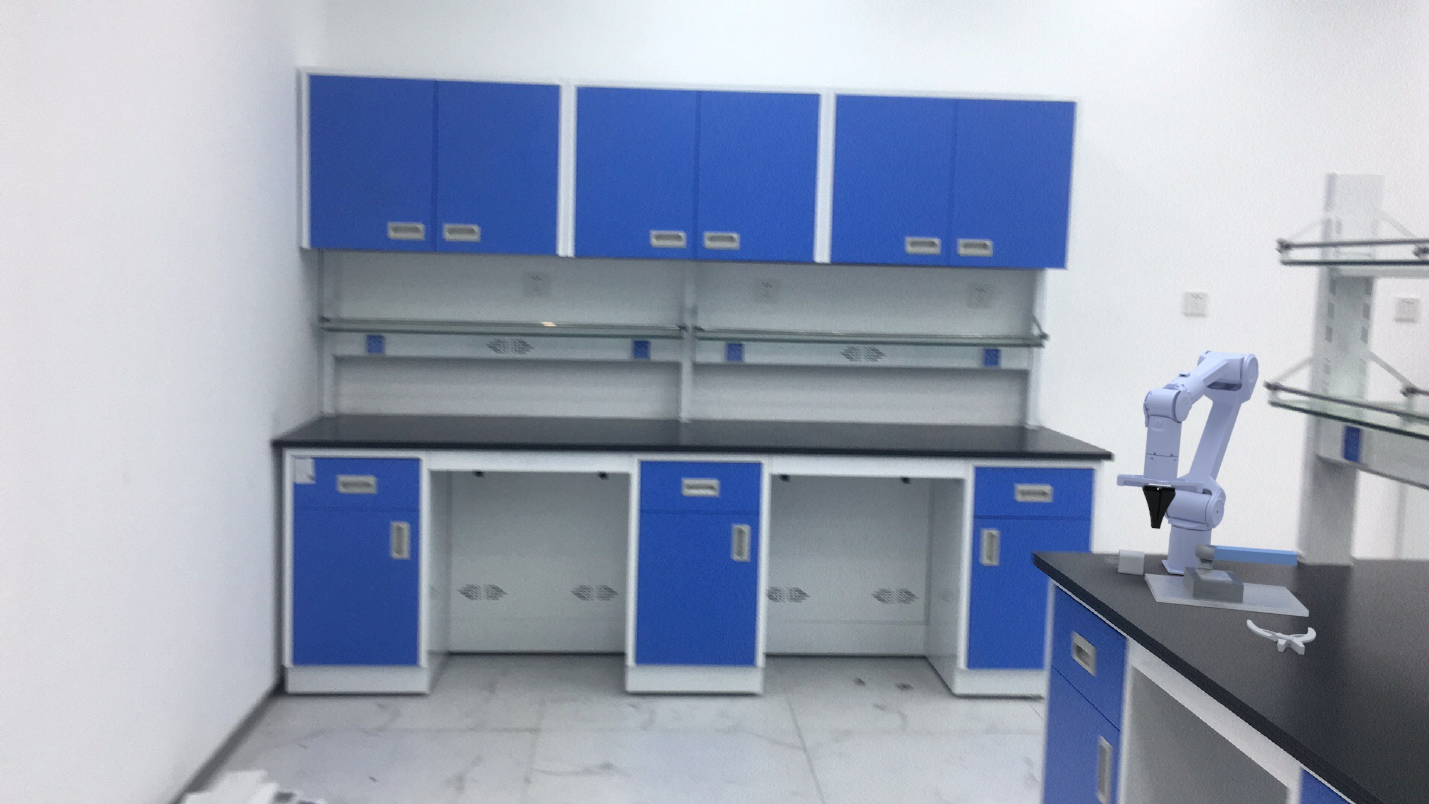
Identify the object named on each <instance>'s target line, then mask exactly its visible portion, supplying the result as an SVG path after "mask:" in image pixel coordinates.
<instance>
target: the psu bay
mask: <svg viewBox="0 0 1429 804" xmlns="http://www.w3.org/2000/svg"><path fill="white" fill-rule="evenodd" d="M1213 563H1214V559H1202V558H1199V560H1198V568H1192V567H1184V575H1183V576H1175V575H1173V576H1172V575H1163V574H1156V573H1155V574H1153V573H1144V581H1145V582H1146V585H1147V586H1148V588H1149V590H1150V592H1151V594H1152V597H1153V598H1154V600H1155V602H1156V603H1163V604H1164V603H1167V604H1174V605H1176V604H1177V605H1186V606H1194V607H1195V606H1197V607H1208V608H1214V609H1215V608H1216V609H1226V610H1236V611H1245V612H1258V613H1267V614H1276V615H1277V614H1278V615H1287V616H1295V617H1296V616H1297V617H1307V618H1308V617H1309V615H1310V614H1309V613H1310V611H1309V609H1308V608H1307V607H1306V606H1304V604H1303V603H1302V602H1301V601H1300V600H1299V599H1297V597H1296V596H1295V595H1294V594H1293V593H1292V592H1291V591H1290V590H1289V589H1288V588H1287V587H1286V586H1283V585H1282V586H1281V585H1270V584H1269V585H1268V584H1261V583H1259V584H1258V583H1247V582H1242V581H1241V580H1240V578H1239V577H1237V575H1236V573H1234V571H1232V570H1223V569H1214V568H1213Z"/></svg>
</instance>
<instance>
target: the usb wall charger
mask: <svg viewBox="0 0 1429 804" xmlns="http://www.w3.org/2000/svg"><path fill="white" fill-rule="evenodd" d="M1104 563H1107V564H1114V565H1117V572H1118V574H1125V575H1126V574H1127V575H1134V576H1143V575H1144V566H1145V565H1144V563H1145V553H1144V551H1139V550H1130V549H1129V550H1128V549H1119V548H1118V557H1114V556H1104Z"/></svg>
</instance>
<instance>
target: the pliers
mask: <svg viewBox="0 0 1429 804" xmlns="http://www.w3.org/2000/svg"><path fill="white" fill-rule="evenodd" d="M1246 627H1248V629H1249V630H1250V631H1252V633H1254V634H1256V635H1258V636H1260V637H1264V638H1266V639H1269V640H1270V641H1273V642H1274V643H1276V642H1277V644H1276V645H1277V651H1278V652H1280V653H1284V651H1285V649H1287V648H1291V649H1292V650H1293V651H1294V652H1296V653H1297V654H1298V655H1301V656H1302V655H1303V656H1304V655H1305V648H1306V647H1305V645H1304V644H1306V643H1311V642H1313V641H1314V640H1316V637H1317V633H1316V631H1315V629H1314V628H1312V627H1308V628H1307V633H1306V634H1305V633H1304V634H1303V633H1301V634H1300V633H1299V634H1290V635H1287V634H1283V633H1281V632H1275V631H1271V630H1267V629H1264V628H1259V627H1258V626H1257V625H1256V624H1254V622H1253V621H1252V620H1251V619H1247V620H1246Z"/></svg>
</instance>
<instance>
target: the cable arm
mask: <svg viewBox="0 0 1429 804" xmlns="http://www.w3.org/2000/svg"><path fill="white" fill-rule="evenodd" d="M1195 556H1196V557H1198V558H1202V559H1212V560H1217V561H1228V562H1229V561H1230V562H1243V563H1254V564H1255V563H1257V564H1270V565H1271V564H1272V565H1282V566H1283V565H1284V566H1293V567H1297V566H1298V558H1299V557H1298V556H1299V554H1297V553H1296V552H1295V551H1293V550H1282V549H1271V548H1270V549H1269V548H1258V547H1257V548H1255V547H1246V546H1245V547H1243V546H1232V545H1231V546H1229V545H1228V546H1227V545H1215V544H1210V545H1208V544H1197V545H1196V553H1195Z"/></svg>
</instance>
